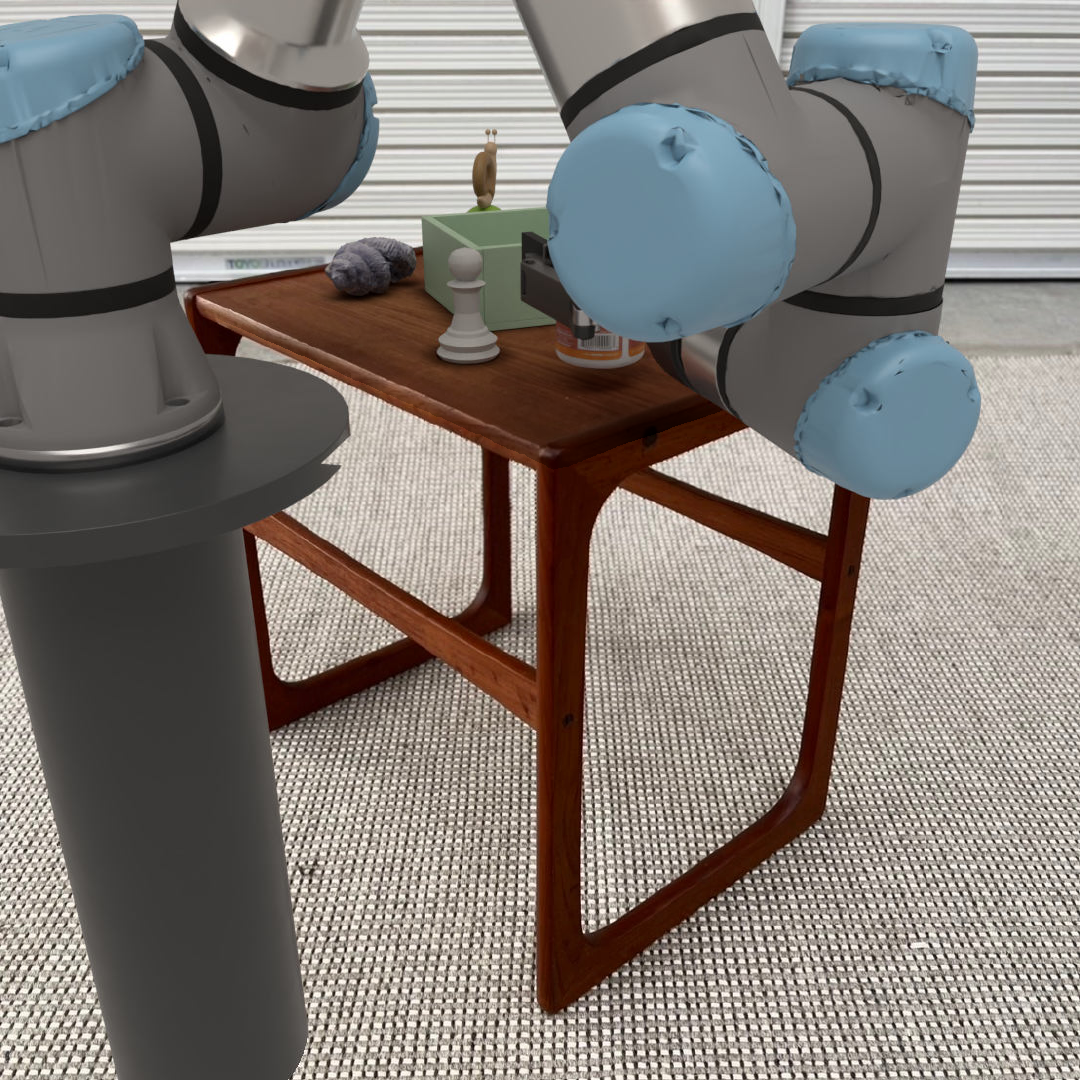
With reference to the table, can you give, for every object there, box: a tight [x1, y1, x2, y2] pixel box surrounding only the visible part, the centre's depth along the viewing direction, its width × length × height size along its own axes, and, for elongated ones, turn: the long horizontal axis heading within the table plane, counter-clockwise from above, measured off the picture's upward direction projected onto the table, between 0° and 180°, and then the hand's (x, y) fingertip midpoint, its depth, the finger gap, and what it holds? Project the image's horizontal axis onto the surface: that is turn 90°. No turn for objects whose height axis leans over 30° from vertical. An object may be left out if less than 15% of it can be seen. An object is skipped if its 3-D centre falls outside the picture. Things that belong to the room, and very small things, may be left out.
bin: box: [420, 206, 556, 332], centre depth 98 cm, size 15×15×7 cm
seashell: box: [324, 236, 418, 297], centre depth 102 cm, size 5×5×10 cm
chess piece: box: [436, 247, 501, 365], centre depth 84 cm, size 5×5×8 cm
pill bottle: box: [555, 321, 646, 370], centre depth 77 cm, size 6×6×11 cm
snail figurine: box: [465, 128, 502, 213], centre depth 112 cm, size 5×6×12 cm
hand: (572, 247), depth 81 cm, fingers closed on pill bottle, 6 cm apart
